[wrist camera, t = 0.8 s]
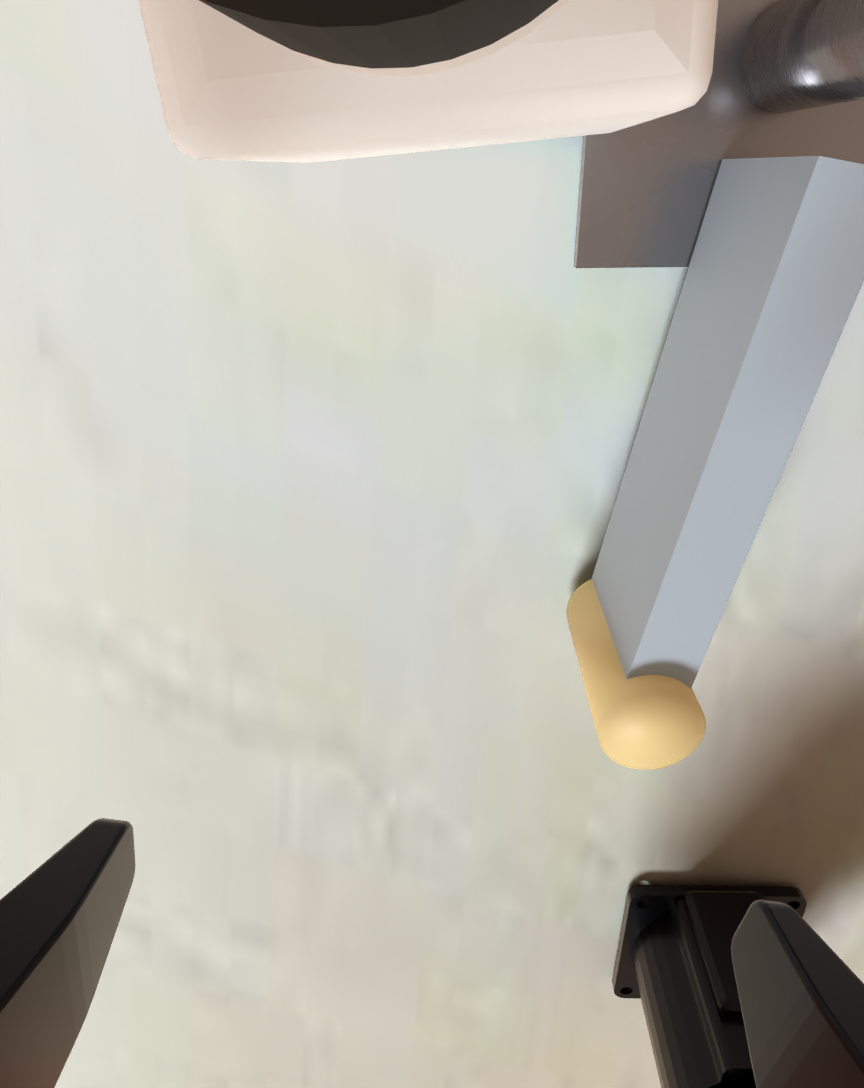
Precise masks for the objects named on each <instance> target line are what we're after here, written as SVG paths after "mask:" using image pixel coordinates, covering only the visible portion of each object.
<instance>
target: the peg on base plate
mask: <svg viewBox="0 0 864 1088" xmlns="http://www.w3.org/2000/svg"><path fill="white" fill-rule="evenodd" d="M799 156H823V157H828V158H833V159H839V160H844V161H849V162H854V163H860V164H864V0H718V10H717V22H716V34H715V46H714V58H713V70H712V76H711V79H710V82H709V86H708V89H707V92H706V93H705V94H704V95H703V96H702V97H701V98H700V100H699V101H698V102H697V103H696V104H695V105H694V106H691V107H688V108H686V109H683V110H681V111H678V112H675V113H672V114H669V115H665V116H662V117H659V118H656V119H653V120H650V121H646V122H643V123H640V124H637V125H634V126H631V127H627V128H624V129H621V130H618V131H615V132H612V133H605V134H595V135H585V136H583V147H582V160H581V174H580V187H579V200H578V214H577V227H576V241H575V254H574V267H576V268H622V267H689V264H690V261H691V258H692V255H693V252H694V248H695V245H696V242H697V239H698V236H699V232H700V229H701V226H702V223H703V220H704V216H705V213H706V210H707V207H708V203H709V200H710V197H711V194H712V191H713V187H714V184H715V181H716V178H717V175H718V171H719V168H720V165H721V162H722V159H743V158H771V157H799Z"/></svg>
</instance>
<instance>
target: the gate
mask: <svg viewBox="0 0 864 1088" xmlns="http://www.w3.org/2000/svg"><path fill="white" fill-rule="evenodd" d="M863 281H864V164H860V163H854V162H849V161H844V160H839V159H833V158H828V157H823V156H799V157H771V158H743V159H722V162H721V165H720V168H719V171H718V175H717V178H716V181H715V184H714V187H713V191H712V194H711V197H710V200H709V203H708V207H707V210H706V213H705V216H704V220H703V223H702V226H701V229H700V232H699V236H698V239H697V242H696V245H695V248H694V252H693V255H692V258H691V261H690V264H689V268H688V271H687V274H686V277H685V280H684V284H683V287H682V290H681V293H680V297H679V300H678V303H677V306H676V309H675V313H674V316H673V319H672V322H671V325H670V329H669V332H668V335H667V338H666V341H665V345H664V348H663V351H662V354H661V357H660V361H659V364H658V367H657V370H656V373H655V377H654V380H653V383H652V386H651V390H650V393H649V396H648V399H647V402H646V406H645V409H644V412H643V415H642V418H641V422H640V425H639V428H638V431H637V434H636V438H635V441H634V444H633V447H632V450H631V454H630V457H629V460H628V463H627V467H626V470H625V473H624V476H623V479H622V483H621V486H620V489H619V492H618V495H617V499H616V502H615V505H614V508H613V511H612V515H611V518H610V521H609V524H608V527H607V531H606V534H605V537H604V540H603V543H602V547H601V550H600V553H599V556H598V560H597V563H596V566H595V569H594V572H593V576H592V579H590V580H588V581H586V582H585V583H583V584H582V585H581V586H579V587H578V588H577V589H576V590H575V591H574V593H573V594H572V596H571V597H570V599H569V602H568V605H567V620H568V623H569V627H570V631H571V635H572V639H573V643H574V646H575V650H576V654H577V658H578V662H579V666H580V670H581V673H582V677H583V681H584V685H585V689H586V693H587V696H588V700H589V704H590V708H591V712H592V716H593V719H594V723H595V727H596V731H597V735H598V739H599V742H600V745H601V748H602V749H603V751H604V752H605V754H606V755H607V756H608V757H609V758H611V759H612V760H613V761H615V762H616V763H618V764H620V765H623V766H626V767H629V768H634V769H642V770H649V769H658V768H663V767H666V766H669V765H672V764H674V763H677V762H679V761H681V760H682V759H684V758H685V757H687V756H688V755H689V754H691V753H692V752H693V751H694V750H695V749H696V748H697V746H698V745H699V743H700V742H701V740H702V738H703V735H704V733H705V724H706V722H705V717H704V714H703V711H702V709H701V707H700V705H699V703H698V701H697V698H696V696H695V694H694V692H693V690H692V688H691V687H692V684H693V682H694V680H695V677H696V675H697V673H698V670H699V668H700V665H701V663H702V661H703V658H704V656H705V654H706V651H707V649H708V647H709V644H710V642H711V640H712V637H713V635H714V632H715V630H716V628H717V625H718V623H719V621H720V618H721V616H722V614H723V611H724V609H725V607H726V604H727V602H728V599H729V597H730V595H731V592H732V590H733V588H734V585H735V583H736V581H737V578H738V576H739V574H740V571H741V569H742V566H743V564H744V562H745V559H746V557H747V555H748V552H749V550H750V548H751V545H752V543H753V541H754V538H755V536H756V533H757V531H758V529H759V526H760V524H761V522H762V519H763V517H764V515H765V512H766V510H767V508H768V505H769V503H770V500H771V498H772V496H773V493H774V491H775V489H776V486H777V484H778V482H779V479H780V477H781V475H782V472H783V470H784V467H785V465H786V463H787V460H788V458H789V456H790V453H791V451H792V449H793V446H794V444H795V442H796V439H797V437H798V434H799V432H800V430H801V427H802V425H803V423H804V420H805V418H806V416H807V413H808V411H809V409H810V406H811V404H812V402H813V399H814V397H815V394H816V392H817V390H818V387H819V385H820V383H821V380H822V378H823V376H824V373H825V371H826V369H827V366H828V364H829V361H830V359H831V357H832V354H833V352H834V350H835V347H836V345H837V343H838V340H839V338H840V336H841V333H842V331H843V328H844V326H845V324H846V321H847V319H848V317H849V314H850V312H851V310H852V307H853V305H854V303H855V300H856V298H857V295H858V293H859V291H860V288H861V286H862V284H863Z"/></svg>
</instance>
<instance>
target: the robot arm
mask: <svg viewBox="0 0 864 1088" xmlns="http://www.w3.org/2000/svg"><path fill="white" fill-rule="evenodd" d="M134 873H135V852H134V837H133V828H132V825H131V824H130V823H129V822H127V821H121V820H113V819H105V818H102V819H98V820H95V821H94V822H92V823H91V824H90V825H88V826H87V827H86V828H85V829H84V830H82V831H81V832H80V833H79V834H78V835H77V836H75V837H74V838H73V839H72V840H71V841H69V842H68V843H67V844H66V845H65V846H64V847H62V848H61V849H60V850H59V851H58V852H56V853H55V854H54V855H53V856H52V857H51V858H49V859H48V860H47V861H46V862H45V863H43V864H42V865H41V866H40V867H39V868H38V869H36V870H35V871H34V872H33V873H32V874H30V875H29V876H28V877H27V878H26V879H25V880H23V881H22V882H21V883H20V884H19V885H17V886H16V887H15V888H14V889H13V890H12V891H10V892H9V893H8V894H7V895H6V896H4V897H3V898H2V899H1V900H0V1088H54V1087H55V1085H56V1083H57V1081H58V1078H59V1076H60V1074H61V1072H62V1070H63V1067H64V1065H65V1063H66V1061H67V1059H68V1057H69V1054H70V1052H71V1050H72V1048H73V1046H74V1043H75V1041H76V1039H77V1037H78V1034H79V1032H80V1030H81V1027H82V1025H83V1023H84V1020H85V1018H86V1016H87V1013H88V1010H89V1007H90V1005H91V1002H92V999H93V996H94V994H95V991H96V988H97V985H98V982H99V979H100V976H101V973H102V970H103V967H104V964H105V962H106V959H107V956H108V953H109V950H110V947H111V944H112V941H113V938H114V935H115V932H116V929H117V926H118V924H119V921H120V918H121V915H122V912H123V909H124V906H125V903H126V900H127V897H128V894H129V891H130V888H131V885H132V882H133V878H134ZM806 906H807V902H806V900H805V898H804V896H803V894H802V892H801V890H800V889H798V888H795V887H746V886H656V885H641V886H636V887H633V888H632V889H630V890H629V892H628V894H627V899H626V905H625V910H624V916H623V922H622V928H621V933H620V939H619V945H618V950H617V956H616V962H615V967H614V973H613V979H612V983H613V988H614V993H615V994H616V996H618V997H621V998H641V1001H642V1005H643V1009H644V1014H645V1018H646V1022H647V1027H648V1031H649V1035H650V1040H651V1044H652V1048H653V1053H654V1057H655V1061H656V1066H657V1070H658V1074H659V1079H660V1083H661V1087H662V1088H864V983H863V982H862V981H861V980H860V979H859V978H858V977H857V976H856V975H855V974H854V973H853V972H852V971H851V969H850V968H849V967H848V966H847V965H846V964H845V963H844V962H843V961H842V960H841V959H840V958H839V957H838V956H837V955H836V953H835V952H834V951H833V950H832V949H831V948H830V947H829V946H828V945H827V944H826V943H825V942H824V941H823V940H822V939H821V937H820V936H819V935H818V934H817V933H816V932H815V931H814V930H813V929H812V928H811V927H810V926H809V925H808V924H807V923H806V921H805V920H804V919H803V918H802V917H803V914H804V911H805V908H806Z"/></svg>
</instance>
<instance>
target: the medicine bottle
mask: <svg viewBox="0 0 864 1088" xmlns="http://www.w3.org/2000/svg"><path fill="white" fill-rule="evenodd" d="M139 4H140V9H141V13H142V18H143V22H144V27H145V31H146V36H147V40H148V45H149V49H150V54H151V58H152V63H153V67H154V72H155V76H156V81H157V85H158V90H159V94H160V99H161V103H162V108H163V112H164V117H165V122H166V126H167V130H168V132H169V135H170V137H171V139H172V141H173V143H174V144H175V145H176V146H177V147H178V148H179V149H180V150H181V151H183V152H184V153H185V154H186V155H187V156H188V157H193V158H198V159H208V160H242V161H275V162H308V163H311V162H321V161H331V160H341V159H351V158H361V157H372V156H382V155H392V154H402V153H412V152H422V151H432V150H443V149H453V148H463V147H473V146H483V145H493V144H503V143H514V142H524V141H534V140H544V139H554V138H564V137H574V136H585V135H595V134H605V133H612V132H615V131H618V130H621V129H624V128H627V127H631V126H634V125H637V124H640V123H643V122H646V121H650V120H653V119H656V118H659V117H662V116H665V115H669V114H672V113H675V112H678V111H681V110H683V109H686V108H688V107H691V106H694V105H695V104H696V103H697V102H698V101H699V100H700V98H701V97H702V96H703V95H704V94H705V93H706V92H707V89H708V86H709V82H710V79H711V76H712V70H713V58H714V46H715V34H716V22H717V10H718V0H139Z"/></svg>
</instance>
